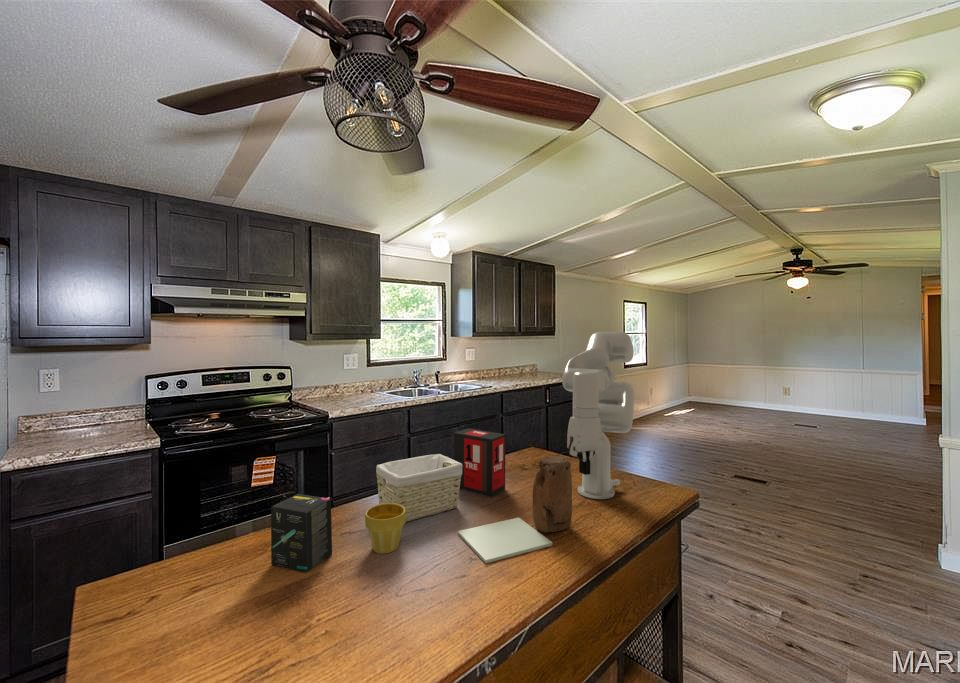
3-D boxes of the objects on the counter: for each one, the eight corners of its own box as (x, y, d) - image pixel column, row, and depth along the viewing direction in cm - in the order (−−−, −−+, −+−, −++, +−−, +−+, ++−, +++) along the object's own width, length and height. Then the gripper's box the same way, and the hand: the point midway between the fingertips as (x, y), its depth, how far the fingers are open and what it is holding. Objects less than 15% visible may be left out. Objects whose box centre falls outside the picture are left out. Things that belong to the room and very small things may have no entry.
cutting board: (518, 520, 129) (518, 517, 129) (552, 545, 114) (552, 542, 114) (457, 533, 120) (457, 531, 120) (485, 563, 105) (485, 560, 105)
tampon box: (333, 554, 109) (332, 497, 108) (307, 574, 100) (306, 512, 100) (298, 547, 112) (297, 492, 112) (270, 565, 104) (269, 505, 103)
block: (557, 518, 130) (557, 453, 130) (574, 528, 124) (575, 459, 123) (528, 527, 125) (529, 458, 124) (545, 537, 118) (546, 465, 118)
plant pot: (380, 562, 105) (380, 523, 105) (357, 548, 112) (357, 511, 112) (413, 547, 113) (413, 510, 113) (390, 534, 120) (390, 499, 120)
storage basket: (438, 493, 151) (438, 451, 150) (464, 508, 138) (465, 463, 137) (373, 510, 136) (373, 464, 136) (396, 529, 123) (396, 478, 123)
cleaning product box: (505, 489, 154) (505, 434, 154) (491, 497, 147) (491, 439, 146) (468, 480, 163) (468, 428, 163) (453, 487, 156) (453, 432, 156)
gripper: (595, 408, 136) (595, 466, 136) (557, 412, 129) (556, 473, 129) (613, 412, 129) (612, 473, 129) (573, 416, 122) (573, 481, 122)
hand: (584, 473), depth 129 cm, fingers closed
